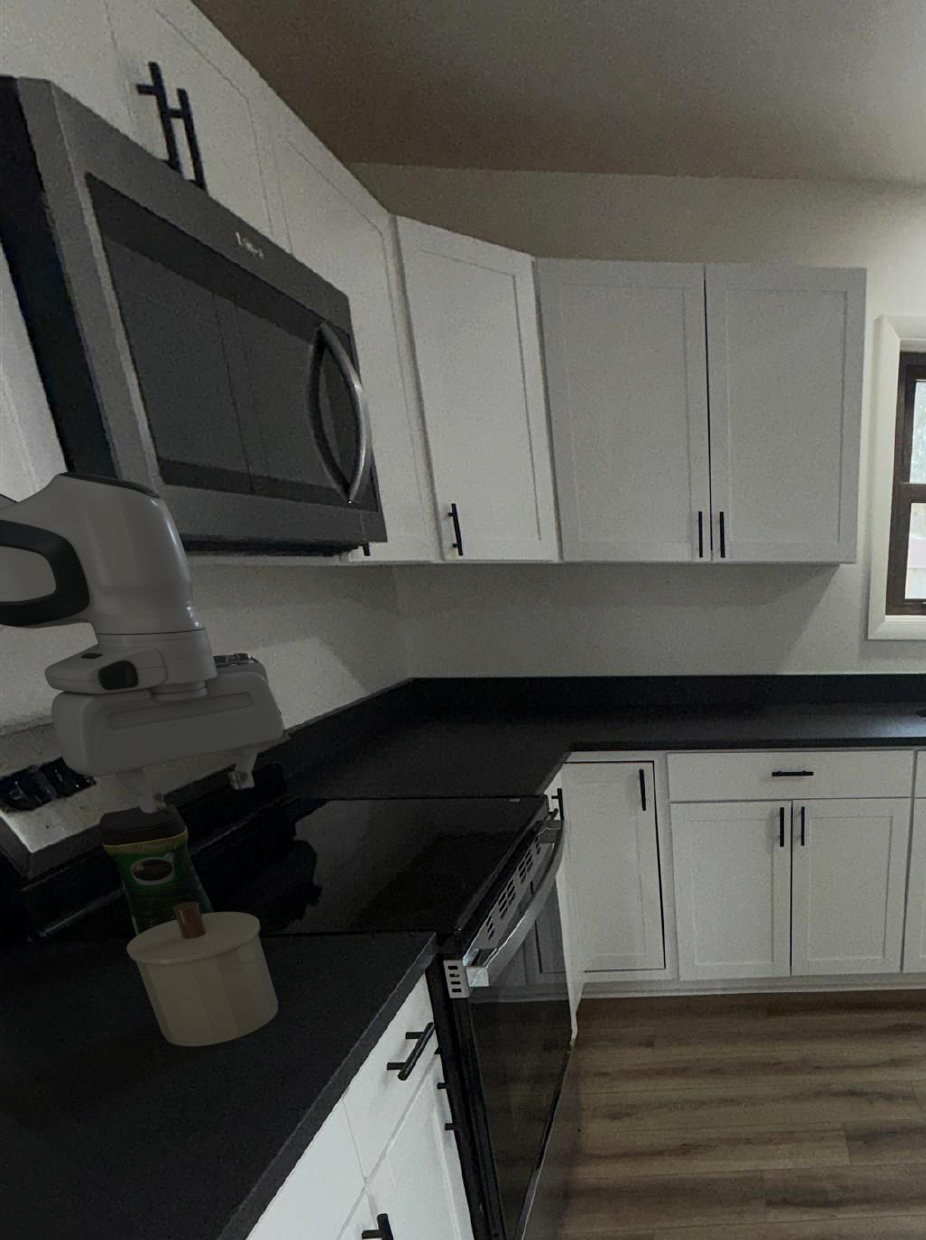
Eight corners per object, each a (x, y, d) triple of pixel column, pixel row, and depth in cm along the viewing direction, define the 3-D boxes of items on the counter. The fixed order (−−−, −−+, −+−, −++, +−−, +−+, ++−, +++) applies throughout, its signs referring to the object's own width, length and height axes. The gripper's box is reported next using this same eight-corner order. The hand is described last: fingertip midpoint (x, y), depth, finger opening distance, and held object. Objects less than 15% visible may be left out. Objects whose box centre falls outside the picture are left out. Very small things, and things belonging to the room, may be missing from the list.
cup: (197, 1057, 91) (167, 971, 87) (143, 1029, 96) (112, 947, 92) (298, 1010, 100) (276, 931, 96) (244, 987, 106) (221, 910, 101)
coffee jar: (218, 916, 126) (181, 796, 118) (217, 935, 119) (178, 810, 112) (140, 930, 121) (96, 807, 113) (135, 950, 115) (89, 822, 107)
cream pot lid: (167, 980, 86) (152, 939, 84) (107, 952, 92) (92, 914, 90) (284, 935, 96) (274, 897, 94) (224, 912, 102) (213, 877, 100)
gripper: (240, 649, 91) (271, 773, 97) (22, 672, 74) (76, 821, 80) (279, 652, 89) (309, 779, 94) (64, 677, 72) (116, 830, 77)
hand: (201, 799), depth 87 cm, fingers open, 8 cm apart
